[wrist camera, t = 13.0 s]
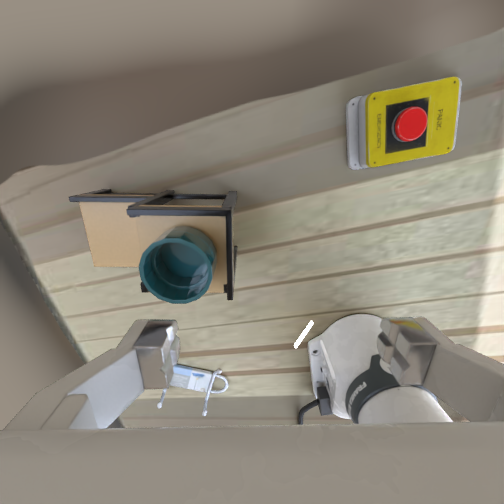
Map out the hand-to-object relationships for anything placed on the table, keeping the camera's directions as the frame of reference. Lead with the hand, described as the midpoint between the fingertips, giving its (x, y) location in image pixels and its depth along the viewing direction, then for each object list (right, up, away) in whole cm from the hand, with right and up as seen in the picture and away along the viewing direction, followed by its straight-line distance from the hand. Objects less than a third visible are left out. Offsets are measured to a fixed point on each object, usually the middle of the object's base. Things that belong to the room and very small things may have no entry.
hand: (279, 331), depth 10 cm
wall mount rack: (-13, -20, +40) cm, 46 cm away
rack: (-13, +8, +29) cm, 33 cm away
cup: (-8, +3, +17) cm, 19 cm away
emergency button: (+20, +21, +25) cm, 38 cm away
